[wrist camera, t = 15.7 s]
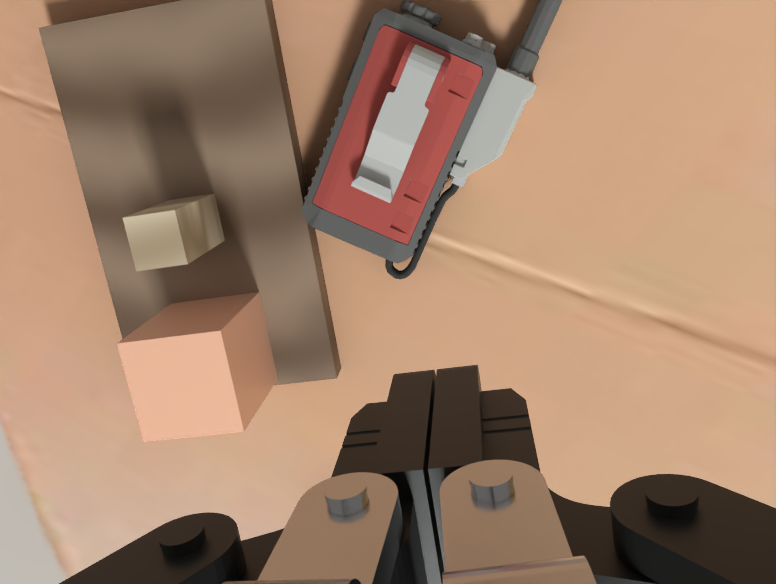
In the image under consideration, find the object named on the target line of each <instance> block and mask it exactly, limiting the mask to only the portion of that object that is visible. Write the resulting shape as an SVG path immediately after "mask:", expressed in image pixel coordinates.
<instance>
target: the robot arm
mask: <svg viewBox="0 0 776 584" xmlns="http://www.w3.org/2000/svg"><path fill="white" fill-rule="evenodd" d="M59 584H776V508H773V507H771V506H768V505H766V504H763V503H761V502H758V501H756V500H753V499H751V498H748V497H746V496H743V495H741V494H738V493H736V492H733V491H731V490H728V489H726V488H723V487H721V486H718V485H716V484H713V483H711V482H708V481H705V480H702V479H699V478H695V477H691V476H685V475H676V474H657V475H649V476H644V477H639V478H636V479H633V480H631V481H629V482H627V483H625V484H623V485H622V486H620V487H619V488H618V489H617V490H616V491H615V492H614V494H613V495H612V497H611V501H610V507H603V506H594V505H588V504H582V503H578V502H574V501H571V500H568V499H565V498H563V497H561V496H559V495H557V494H556V493H554V492H553V491H551V490H550V489H549V488H548V486H547V484H546V481H545V479H544V477H543V475H542V474H541V473H540V468H539V463H538V458H537V453H536V449H535V444H534V439H533V434H532V430H531V424H530V419H529V414H528V409H527V404H526V400H525V399H524V398H523V397H521V396H520V395H519V394H518V393H516V392H515V391H514V390H512V389H511V388H509V389H500V390H491V391H481V383H480V376H479V370H478V365H472V366H463V367H454V368H445V369H437V375H436V374H435V371H434V370H428V371H419V372H410V373H401V374H394V376H393V379H392V383H391V388H390V392H389V396H388V400H387V402H379V403H369V404H366V405H365V406H364V407H363V408H362V409H361V410H360V411H359V412H358V413H356V414H355V415H354V416H353V417H352V418H351V421H350V424H349V427H348V430H347V436H345V439H344V442H343V445H342V449H341V450H340V453H339V456H338V459H337V462H336V465H335V468H334V471H333V474H332V477H331V478H329V479H327V480H324V481H322V482H320V483H318V484H317V485H315V486H313V487H312V488H310V489H309V490H308V491H307V492H306V493H305V494H304V495H303V496H302V497H301V498H300V500H299V501H298V503H297V505H296V507H295V509H294V511H293V513H292V515H291V517H290V519H289V521H288V522H287V524H286V526H285V528H284V529H281V530H278V531H275V532H272V533H268V534H264V535H261V536H257V537H254V538H250V539H247V540H243V541H241V539H240V535H239V531H238V527H237V524H236V522H235V521H234V520H233V519H232V518H230V517H229V516H226V515H224V514H219V513H198V514H192V515H188V516H184V517H181V518H178V519H175V520H172V521H170V522H168V523H165V524H163V525H162V526H160V527H158V528H156V529H154V530H152V531H151V532H149V533H147V534H145V535H144V536H142V537H140V538H138V539H137V540H135V541H133V542H131V543H130V544H128V545H126V546H124V547H123V548H121V549H119V550H117V551H116V552H114V553H112V554H110V555H109V556H107V557H105V558H103V559H102V560H100V561H98V562H96V563H95V564H93V565H91V566H89V567H88V568H86V569H84V570H82V571H81V572H79V573H77V574H75V575H73V576H72V577H70V578H68V579H66V580H65V581H63V582H61V583H59Z"/></svg>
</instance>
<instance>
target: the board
mask: <svg viewBox="0 0 776 584" xmlns="http://www.w3.org/2000/svg"><path fill="white" fill-rule="evenodd" d="M39 31H40V34H41V38H42V42H43V46H44V49H45V53H46V57H47V60H48V64H49V68H50V71H51V75H52V79H53V83H54V86H55V90H56V94H57V97H58V101H59V105H60V108H61V112H62V116H63V120H64V123H65V127H66V131H67V134H68V138H69V142H70V146H71V149H72V153H73V157H74V160H75V164H76V168H77V171H78V175H79V179H80V183H81V186H82V190H83V194H84V197H85V201H86V205H87V208H88V212H89V216H90V220H91V223H92V227H93V231H94V234H95V238H96V242H97V246H98V249H99V253H100V257H101V260H102V264H103V268H104V271H105V275H106V279H107V283H108V286H109V290H110V294H111V297H112V301H113V305H114V308H115V312H116V316H117V320H118V323H119V327H120V331H121V334H122V338H123V339H124V338H125V337H126V336H128V335H129V334H130V333H132V332H133V331H135V330H136V329H137V328H139V327H140V326H141V325H143V324H144V323H145V322H147V321H148V320H149V319H151V318H152V317H154V316H155V315H156V314H158V313H159V312H160V311H162V310H163V309H164V308H166V307H167V306H168V305H170V304H172V303H179V302H187V301H195V300H202V299H210V298H217V297H225V296H233V295H240V294H248V293H255V292H259V293H260V298H261V303H262V307H263V312H264V317H265V321H266V326H267V331H268V335H269V340H270V345H271V349H272V354H273V359H274V363H275V368H276V373H277V377H278V379H277V381H276V382H275V384H274V385H281V384H290V383H299V382H308V381H317V380H326V379H335V378H337V377H338V374H339V372H340V370H341V365H340V360H339V355H338V349H337V344H336V339H335V333H334V328H333V323H332V318H331V312H330V307H329V302H328V296H327V291H326V286H325V281H324V275H323V270H322V265H321V259H320V254H319V249H318V243H317V238H316V233H315V228H313V227H311V226H310V225H308V224H307V223H306V220H305V217H304V214H303V211H302V208H301V206H302V205H303V204H304V202H305V199H304V198H305V196H306V195H307V194H308V190H307V185H306V180H305V175H304V169H303V164H302V159H301V153H300V148H299V143H298V137H297V132H296V127H295V122H294V116H293V111H292V106H291V100H290V95H289V90H288V84H287V79H286V74H285V69H284V63H283V58H282V53H281V47H280V42H279V37H278V32H277V26H276V21H275V16H274V10H273V5H272V0H180V1H175V2H170V3H165V4H159V5H154V6H149V7H144V8H139V9H134V10H128V11H123V12H118V13H113V14H108V15H103V16H97V17H92V18H87V19H82V20H77V21H72V22H66V23H61V24H56V25H51V26H46V27H41V28H39Z"/></svg>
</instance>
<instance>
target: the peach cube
mask: <svg viewBox="0 0 776 584" xmlns="http://www.w3.org/2000/svg"><path fill="white" fill-rule="evenodd" d="M117 346H118V350H119V354H120V357H121V361H122V365H123V368H124V372H125V376H126V379H127V383H128V387H129V390H130V394H131V398H132V401H133V405H134V409H135V412H136V416H137V420H138V423H139V427H140V431H141V434H142V438H143V442H148V441H158V440H167V439H177V438H187V437H196V436H206V435H216V434H225V433H235V432H244V431H245V429H246V428H247V426H248V424H249V423H250V421H251V420H252V418H253V417H254V415H255V413H256V412H257V410H258V409H259V407H260V406H261V404H262V402H263V401H264V399H265V398H266V396H267V395H268V393H269V392H270V390H271V388H272V387H273V385H274V384H275V382H276V381H277V379H278V377H277V373H276V368H275V363H274V359H273V354H272V349H271V345H270V340H269V335H268V331H267V326H266V321H265V317H264V312H263V307H262V303H261V298H260V293H259V292H255V293H248V294H240V295H233V296H225V297H217V298H210V299H202V300H195V301H187V302H179V303H172V304H170V305H168V306H167V307H166V308H164V309H163V310H162V311H160V312H159V313H158V314H156V315H155V316H154V317H152V318H151V319H149V320H148V321H147V322H145V323H144V324H143V325H141V326H140V327H139V328H137V329H136V330H135V331H133V332H132V333H130V334H129V335H128V336H126V337H125V338H124V339H122V340H121V341H120V342H118V343H117Z"/></svg>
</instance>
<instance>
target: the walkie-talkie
mask: <svg viewBox="0 0 776 584" xmlns="http://www.w3.org/2000/svg"><path fill="white" fill-rule="evenodd" d="M561 2H562V0H539V2H538V4H537V6H536V9H535V11H534V13H533V15H532V18H531V20H530V22H529V24H528V26H527V29H526V31H525V33H524V35H523V38H522V40H521V42H520V44H519V46H517V47H515V49H514V51H513V54H512V56H511V58H510V60H509V62H508V65H507V67H506V69H505V70H503V69H501V68H499V67H497V65H496V59H495V56H494V55H495V54H493V52H494V50H495V48H496V46H495V45H494V44H492V43H490V42H487V41H485V40H483V38H482V37H480V36H478V35H475V34H473V33H470V32H468V34H467V36H466V38H465V39H463V40H462V41H460V40H457V39H455V38H453V37H450V36H448V35H446V34H444V33H441V32H439V31H437V30H435V29H432V26H438V25H439V22H440V20H441V17H440V15H439V14H438V13H436V12H434V11H432V10H430V9H428V8H426V7H424V6H421V5H419V4H416V3H414V2H411V1H408V0H404V1H403V2H402V5H401V11H402V12H403V13H404V14H403V15H400V14H398V13H396V12H393V11H391V10H388V9H386V8H383V9H381V10H380V11H378V12H377V13H375V15H374V17H373V20H372V23H371V22H369V25H368V27H367V30H366V33H365V35H364V38H363V41H364V43H363V46H362V49H361V51H360V54H359V56H358V59H357V62H355V63H354V64H353V67H352V69H351V72H350V75H349V77H348V80H349V83H348V85H347V88H346V90H345V93H344V96H343V98H342V100H343V103H342V106H341V107H339V109H338V110H339V114H338V116H337V117H335V119H334V120H335V124H334V127H331V135H330V137H328V138H327V141H328V142H327V145H326V147H324V148H323V151H324V153H323V155H322V157H320V158H319V161H320V163H319V166H317V167H316V169H315V170H316V174H315V176H313V177H312V179H311V180H312V181H313V182H312V184H311V185H310V186H309V187H308V190H309V192H308V194H307V195H306V196H305V198H304V199H305V202H304V204H303V205H302V206H301V208H302V211H303V214H304V217H305V220H306V223H307V224H308V225H310V226H311V227H313V228H316V229H318V230H320V231H322V232H325V233H327V234H329V235H331V236H334V237H336V238H338V239H341V240H343V241H345V242H348V243H350V244H352V245H355V246H357V247H359V248H361V249H364V250H366V251H368V252H371V253H373V254H375V255H378V256H380V257H382V258H384V259H386V269H387V272H388V273H389V274H390V275H392V276H393V277H394V278H396V279H403V278H406V277H408V276H409V275H410V274H411V273H412V272H413V271H414V269H415V268H416V265H417V263H418V261H419V259H420V256H421V254H422V252H423V250H424V247H425V245H426V243H427V241H428V238H429V236H430V234H431V232H432V229H433V227H434V225H435V223H436V220H437V218H438V216H439V214H440V212H441V210H442V208H443V206H444V204H445V202H446V201H447V200H448V198H450V197H451V196H452V195H454V194H455V192H456V191H457V189H458V188H459V186H460V187H462V188H463V186H464V184H465V182H466V179H467V177H468V175H469V174H471V173H472V172H474V171H476V170H478V169H480V168H481V167H483V166H485V165H487V164H488V163H490V162H492V161H494V160H495V159H497V158H499V157H500V156H501V155H502V153H503V151H504V149H505V147H506V145H507V143H508V140H509V138H510V136H511V134H512V132H513V130H514V128H515V125H516V123H517V121H518V119H519V117H520V115H521V113H522V111H523V108H524V106H525V104H526V102H527V101H528V100H530V99H531V98H532V96H533V94H534V92H535V89H536V87H537V84H535V83H533V82H531V81H529V79H530V77H531V75H532V72H533V70H534V68H535V66H536V63H537V61H538V59H539V56H538V53H539V50H540V48H541V46H542V44H543V42H544V39H545V37H546V35H547V33H548V31H549V29H550V26H551V24H552V22H553V20H554V18H555V15H556V13H557V11H558V9H559V7H560V4H561ZM458 151H459V152H458ZM457 152H458V154H457ZM453 161H454V163H453ZM449 171H450V174H449V173H448V172H449ZM448 175H451V176H453V179H452V185H451V187H450V188H449V189H447V190H446V191H445V192H444V193H443V194H442V195H441V197H440V193H441V191H443V188H444V184H445V182H444V181H447V179H448ZM439 197H440V198H439ZM436 202H437V203H436ZM432 211H433V212H432ZM428 220H429V221H428ZM424 229H425V230H424ZM412 256H413V257H412ZM409 257H412V259H411V262H410V263H409V265H408V267H406V268H405V269H404V270H402V271H399V270H397V269H396V268H395V267H394V266H393V262H396V263H398V262H401V261H403V260H405V259H407V258H409Z"/></svg>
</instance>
